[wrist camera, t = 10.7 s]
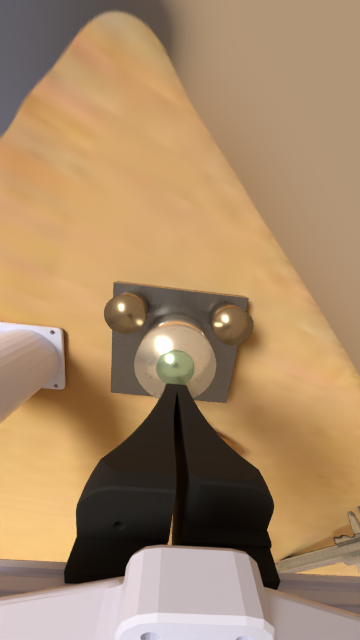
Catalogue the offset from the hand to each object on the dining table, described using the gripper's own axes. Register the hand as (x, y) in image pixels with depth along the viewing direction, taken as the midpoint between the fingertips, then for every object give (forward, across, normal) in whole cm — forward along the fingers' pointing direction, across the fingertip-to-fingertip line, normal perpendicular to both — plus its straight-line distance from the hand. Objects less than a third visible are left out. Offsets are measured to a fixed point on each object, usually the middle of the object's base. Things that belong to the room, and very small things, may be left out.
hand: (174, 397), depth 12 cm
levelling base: (+10, -1, +6) cm, 12 cm away
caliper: (+11, -28, +34) cm, 45 cm away
